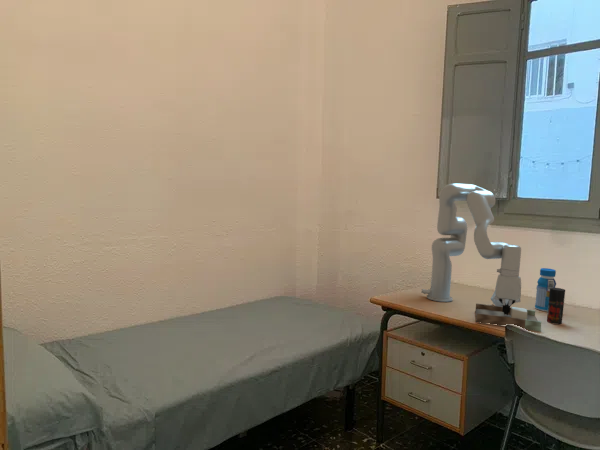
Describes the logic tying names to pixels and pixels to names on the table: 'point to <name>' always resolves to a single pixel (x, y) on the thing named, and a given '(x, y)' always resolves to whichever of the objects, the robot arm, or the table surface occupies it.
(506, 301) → the die
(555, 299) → the deodorant
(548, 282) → the beverage bottle
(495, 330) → the table surface
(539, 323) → the box
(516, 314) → the pale blue block
